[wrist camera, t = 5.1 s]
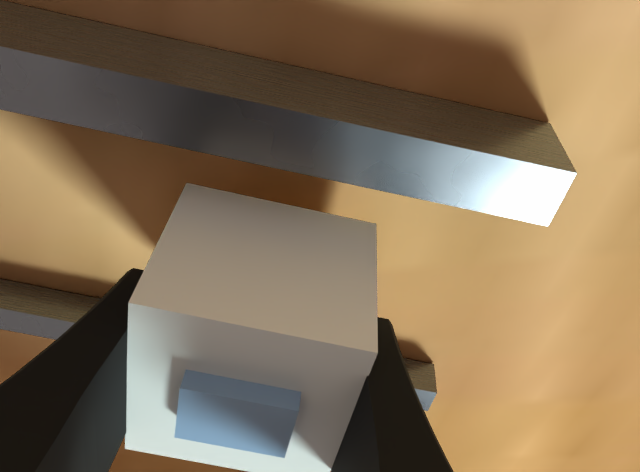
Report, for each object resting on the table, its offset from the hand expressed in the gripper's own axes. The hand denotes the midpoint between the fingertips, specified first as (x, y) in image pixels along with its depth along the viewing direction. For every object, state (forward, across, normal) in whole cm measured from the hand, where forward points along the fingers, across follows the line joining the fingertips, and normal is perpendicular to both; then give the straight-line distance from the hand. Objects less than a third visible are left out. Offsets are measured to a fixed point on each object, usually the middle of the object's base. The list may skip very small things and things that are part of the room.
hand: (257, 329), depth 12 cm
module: (+2, 0, 0) cm, 2 cm away
